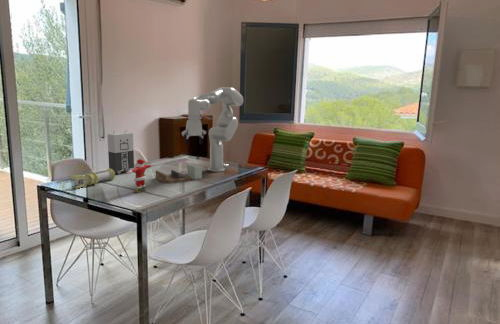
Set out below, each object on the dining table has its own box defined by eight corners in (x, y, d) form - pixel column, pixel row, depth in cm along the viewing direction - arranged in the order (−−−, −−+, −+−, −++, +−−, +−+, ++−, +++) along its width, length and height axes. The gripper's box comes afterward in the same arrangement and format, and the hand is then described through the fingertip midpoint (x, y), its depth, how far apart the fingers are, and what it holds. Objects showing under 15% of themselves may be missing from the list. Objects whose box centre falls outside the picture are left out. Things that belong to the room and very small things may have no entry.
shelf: (181, 175, 254) (181, 168, 253) (191, 180, 241) (191, 172, 240) (155, 178, 245) (155, 170, 244) (164, 183, 231) (164, 175, 231)
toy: (116, 175, 250) (114, 130, 244) (109, 173, 254) (107, 129, 248) (134, 171, 262) (132, 129, 256) (127, 170, 266) (125, 128, 260)
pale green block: (194, 174, 257) (194, 163, 256) (201, 178, 247) (201, 166, 246) (187, 175, 255) (187, 164, 253) (194, 179, 245) (194, 167, 243)
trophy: (107, 167, 239) (67, 175, 212) (116, 168, 236) (76, 177, 209) (107, 179, 241) (67, 189, 214) (116, 180, 238) (77, 191, 211)
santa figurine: (149, 185, 225) (148, 155, 222) (157, 186, 223) (157, 156, 220) (122, 196, 202) (120, 162, 199) (131, 197, 200) (129, 163, 197)
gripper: (203, 117, 251) (203, 143, 254) (179, 118, 242) (179, 144, 245) (208, 118, 245) (208, 144, 248) (184, 119, 236) (184, 145, 239)
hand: (194, 144), depth 247 cm, fingers open, 9 cm apart
